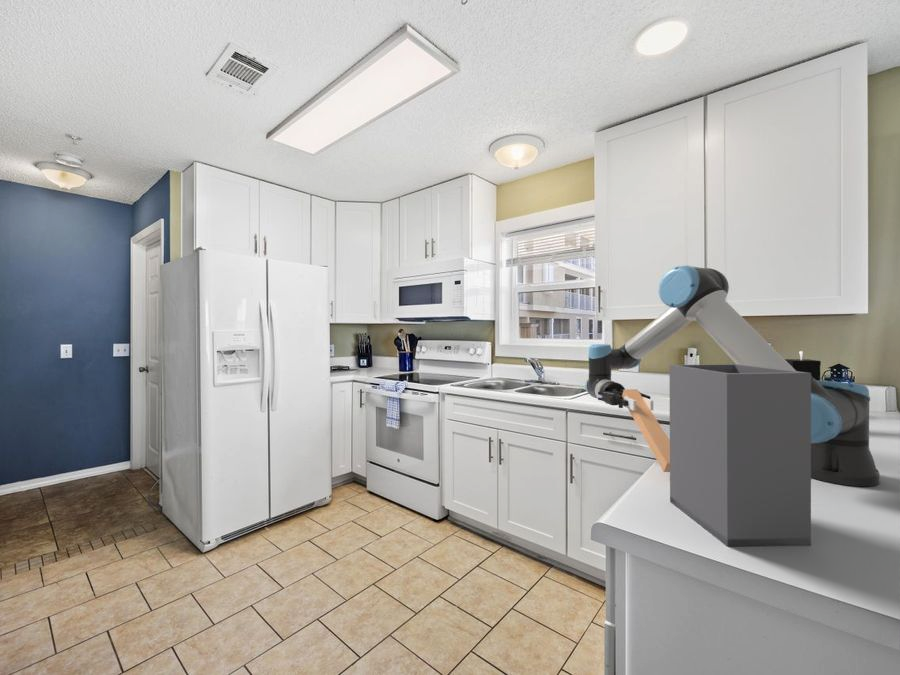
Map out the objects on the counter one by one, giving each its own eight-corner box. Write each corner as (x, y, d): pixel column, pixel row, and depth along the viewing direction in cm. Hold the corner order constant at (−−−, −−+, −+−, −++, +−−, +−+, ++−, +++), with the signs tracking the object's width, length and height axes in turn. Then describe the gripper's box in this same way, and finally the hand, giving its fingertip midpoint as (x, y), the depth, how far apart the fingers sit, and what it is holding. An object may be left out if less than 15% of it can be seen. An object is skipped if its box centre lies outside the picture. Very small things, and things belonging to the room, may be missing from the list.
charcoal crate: (736, 500, 87) (736, 364, 86) (810, 545, 69) (811, 372, 68) (670, 501, 87) (669, 365, 87) (727, 546, 69) (726, 374, 69)
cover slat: (621, 397, 123) (623, 389, 121) (635, 397, 123) (637, 389, 121) (663, 472, 99) (666, 463, 97) (680, 471, 99) (683, 463, 97)
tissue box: (809, 427, 148) (809, 350, 148) (820, 432, 141) (820, 351, 140) (782, 426, 151) (782, 350, 150) (792, 431, 143) (792, 351, 143)
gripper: (636, 403, 137) (674, 418, 113) (584, 403, 137) (612, 419, 113) (636, 380, 137) (674, 391, 113) (584, 381, 137) (612, 392, 113)
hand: (643, 405), depth 113 cm, fingers closed on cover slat, 4 cm apart
